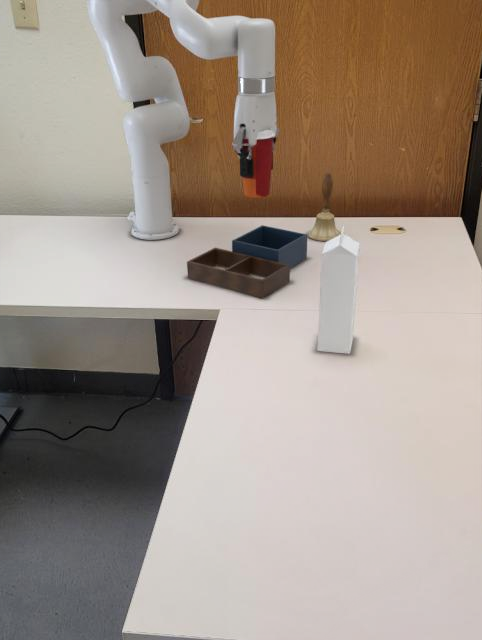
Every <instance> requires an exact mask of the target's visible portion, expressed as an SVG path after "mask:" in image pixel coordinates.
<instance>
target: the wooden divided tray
mask: <svg viewBox="0 0 482 640" xmlns="http://www.w3.org/2000/svg"><path fill="white" fill-rule="evenodd" d="M215 266H219V267H222V268H219V267H215ZM186 268H187V269H186V270H187V279H189V280H194V281H197V282H200V283H205V284H208V285H212V286H215V287H219V288H222V289H227V290H231V291H234V292H238V293H242V294H245V295H249V296H252V297H256V298H259V299H260V298H261V299H265V298H266V297H268V296H269V295H271V294H273V293H275V292H276V291H277V290H279V289H282V287H284V286H286V285H287V284H289V283H290V281H291V280H290V279H291V269H290V265H288V264H284V263H279V262H275V261H271V260H266V259H262V258H258V257H254V256H249V255H245V254H241V253H237V252H232V250H227V249H223V248H219V247H213V248H211V249H209V250H207V251H205V252H202V253H201V254H199V255H196V256H195V257H193V258H191V259H189V260H188V261H186ZM223 268H225V269H223ZM250 275H251V276H250ZM252 275H254V276H259V277H263V278H258V277H254V276H252Z"/></svg>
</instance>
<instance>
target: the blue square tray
mask: <svg viewBox="0 0 482 640" xmlns="http://www.w3.org/2000/svg"><path fill="white" fill-rule="evenodd" d="M308 237H309V236H308V233H301V232H298V231H297V232H296V231H293V230H289V229H282V228H277V227H272V226H268V225H263V224H262V225H260V226H258V227H255V228H253V229H252V230H250V231H248V232H246V233H244V234H242V235H240V236H238V237H236V238H234V239H232V240H231V251H232V252H237V253H241V254H245V255H249V256H254V257H258V258H262V259H266V260H271V261H275V262H279V263H284V264H288V265H290V270H291V269H292V268H294V267H296V266H297V265H298V264H300V263H302V262H304V261H305V260H308V259H307V258H308Z"/></svg>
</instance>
